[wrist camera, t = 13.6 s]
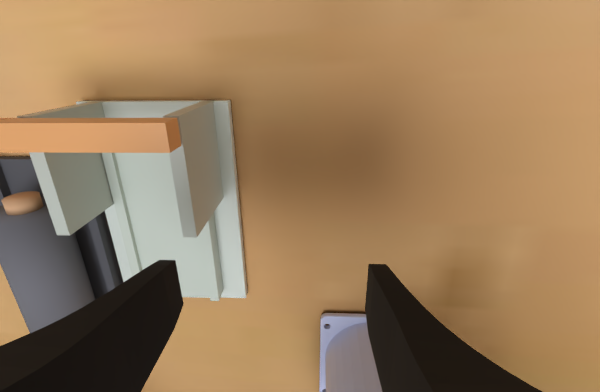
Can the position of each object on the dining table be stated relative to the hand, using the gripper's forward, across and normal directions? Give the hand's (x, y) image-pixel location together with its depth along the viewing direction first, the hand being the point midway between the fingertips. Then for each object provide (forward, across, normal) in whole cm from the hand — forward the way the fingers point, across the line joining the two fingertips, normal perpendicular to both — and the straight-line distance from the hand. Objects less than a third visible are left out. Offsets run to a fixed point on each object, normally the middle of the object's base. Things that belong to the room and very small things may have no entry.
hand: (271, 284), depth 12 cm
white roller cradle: (+10, +8, +2) cm, 13 cm away
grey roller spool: (+7, +16, +5) cm, 18 cm away
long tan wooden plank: (+4, +9, -5) cm, 11 cm away
